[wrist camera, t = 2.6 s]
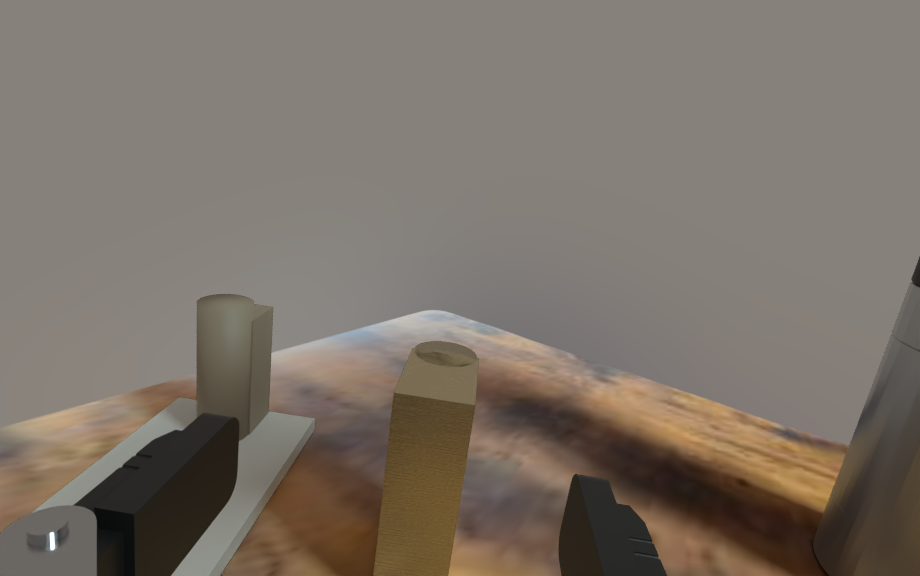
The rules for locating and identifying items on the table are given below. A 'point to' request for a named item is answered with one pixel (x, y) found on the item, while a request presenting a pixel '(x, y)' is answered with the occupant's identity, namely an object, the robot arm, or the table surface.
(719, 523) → the table surface
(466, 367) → the brown tall block
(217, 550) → the mounting plate
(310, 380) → the table surface
